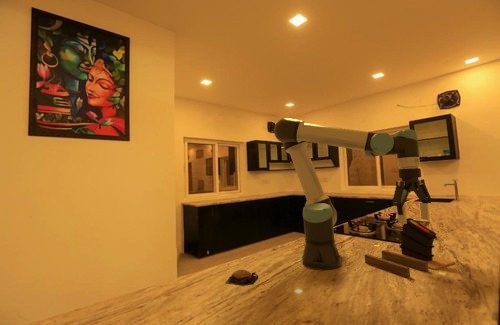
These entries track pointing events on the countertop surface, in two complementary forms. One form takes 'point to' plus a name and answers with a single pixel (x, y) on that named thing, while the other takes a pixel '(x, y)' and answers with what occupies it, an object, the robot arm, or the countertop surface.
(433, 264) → the mat
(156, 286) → the countertop surface
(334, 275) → the countertop surface
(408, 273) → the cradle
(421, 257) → the magazine
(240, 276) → the brown toy turtle
